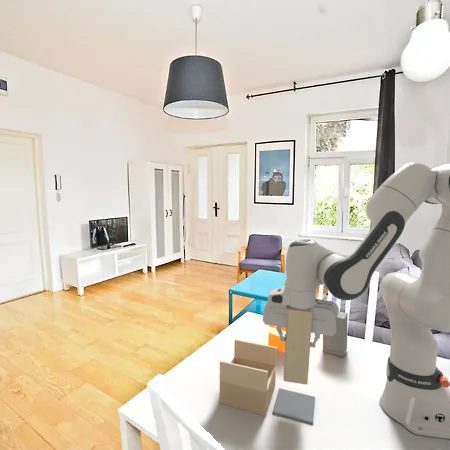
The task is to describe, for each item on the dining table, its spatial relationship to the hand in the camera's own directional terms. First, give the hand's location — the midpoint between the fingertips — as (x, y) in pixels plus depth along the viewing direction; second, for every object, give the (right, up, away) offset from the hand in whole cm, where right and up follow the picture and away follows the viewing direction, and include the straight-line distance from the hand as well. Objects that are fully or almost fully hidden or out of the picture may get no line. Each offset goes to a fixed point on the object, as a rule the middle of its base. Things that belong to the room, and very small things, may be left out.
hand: (297, 343), depth 85 cm
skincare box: (+23, -17, +33) cm, 43 cm away
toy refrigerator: (0, -10, +1) cm, 10 cm away
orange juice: (+2, -16, +36) cm, 39 cm away
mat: (0, -19, +2) cm, 19 cm away
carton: (-13, -18, +7) cm, 24 cm away
